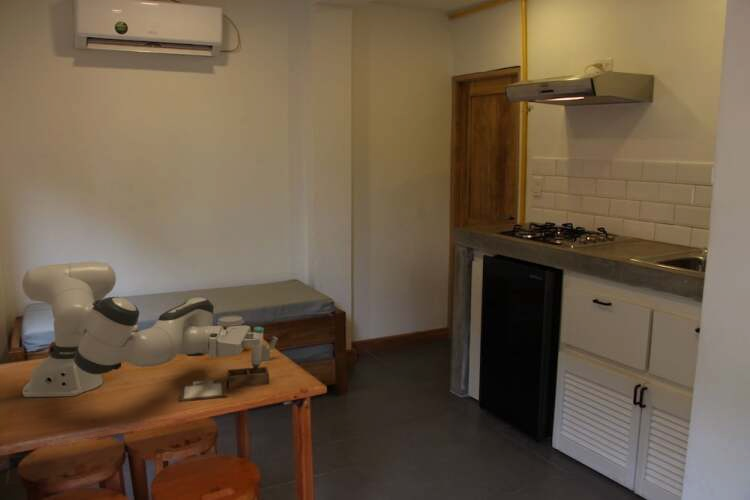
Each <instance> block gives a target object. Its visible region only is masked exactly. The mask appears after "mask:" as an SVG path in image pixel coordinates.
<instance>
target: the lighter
mask: <svg viewBox="0 0 750 500" xmlns="http://www.w3.org/2000/svg"><path fill="white" fill-rule="evenodd" d="M278 340H279V338H278V337H276V336H272V338H271V340H270V343H269V346H267V345H266V344H265V345H263V344H262V354H261V362H265V361H270V360H271V350H274V348H275V347H276V344H277V342H278Z"/></svg>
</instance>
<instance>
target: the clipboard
mask: <svg viewBox="0 0 750 500" xmlns="http://www.w3.org/2000/svg"><path fill="white" fill-rule="evenodd" d="M178 390H179V392H178V399H177V401H178V402H179V403H181V402H192V401H200V400H201V401H203V400H211V399H222V398H228V391H227V381H226V380H225V381H224V380H223V381H214V380H213V379H205V380H195V381H192V383H191V384H190V383H189V384H180V385H179V389H178Z"/></svg>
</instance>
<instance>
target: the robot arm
mask: <svg viewBox="0 0 750 500" xmlns="http://www.w3.org/2000/svg"><path fill="white" fill-rule="evenodd" d="M114 270H115V269H113V267H112V266H111V265H110V264H109V263H107V262H100V261H85V262H84V261H81V262H69V263H59V264H58V263H57V264H45V265H41V266H37V267H33V268H29V269H28V270H27V271H26V273H25V274H24V276H23V277H22V281H21V288H22V290H23V292H24V295H25V296H26V297H27V298H28V299H29V300H31V301H35V302H40V303H45V304H47V305H49V306H51V312H52V317H53V319H54V320H53V331H54V340H53V341H51V342H50V343H49V346H48V349H47V350H48V355H49V356H47V357H46V358H45V359H43V361H41V362H40V363H39V364H38V365H37V366H36V367H34V369H33V370H32V372H31V374H30V380H29V382H27V383H26V385H24V387H23V388H22V396H23V397H24V398H40V397H41V398H45V397H47V398H48V397H49V398H50V397H75V396H78V395H80V394H82V393H85V392H88V391H92V390H93V389H96V388H98V387H99V386H101V385H102V384H103V382H104V380H103V377H102V374H103V375H104V374H107V373H110V372H111V371H115V370H116V371H117V370H119V369H121V367H122V363H123V362H125V363H129V364H130V365H132V366H134V367H141V368H149V367H151V368H152V367H156V366H160V365H164V364H166V363H169V362H171V361H172V360H174V358H176V357H177V356H178V355H186V356H187V357H202V356H206V355H209V358H210V359H216V358H218V357H234V356H238V355H241V354H242V352H243V350H244V348H246V347H248V348H249V347H250V346H251V347H253V345H259V343H260V339H259V338H254V339H253V335H254V332H251V326H249V325H243V326H231V327H228V328H227V329H226V330H224V328H223V326H218V325H214V324H213V322H214V319H213V315H214V309H215V308H214V304H213V303H212V302H211V301H210V300H209V299H208V298H203V297H193V298H189V299H187V300H185V301H184V302H183V303H182V304H179V305H177V306H175V307H173V308H171V309H169V310H166V311H165V312H163V313H161V314H160V315H159V317H158V318H157V321H156V322H155V323H154V324H153V325H152V326H153V327H152V326H150V327H149V328H145V329H142V330H138V332H136V333H134V332H132V331H133V328H134V326H135V325H138V321H139V317H140V310H139V309H138V307H137V306H136V305H135V304H134V303H132V301H130V300H128V299H126V298H122V297H119V296H109V297H106V296H107V295H108V294H110V293H111V292H112V290H113V289H114V288H115V285H116V283H117V282H116V281H117V277H116V272H115V271H114Z"/></svg>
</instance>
